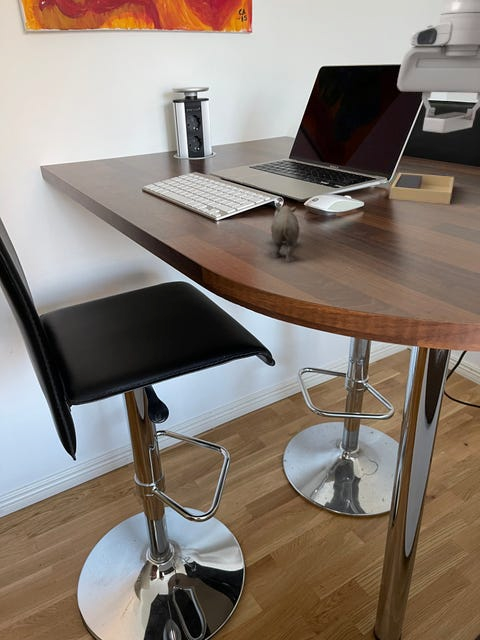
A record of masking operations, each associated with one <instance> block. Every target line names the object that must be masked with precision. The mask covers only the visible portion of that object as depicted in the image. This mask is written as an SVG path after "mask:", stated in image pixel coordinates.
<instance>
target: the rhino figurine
mask: <svg viewBox="0 0 480 640" xmlns="http://www.w3.org/2000/svg"><path fill="white" fill-rule="evenodd" d="M275 209H276V211H277V213H276V214H275V215H274V218H273V219H272V223H271V227H270V233H271V239H272V244H273V246H274V247H273V248H274V249H273V252H272V253H271V254H270V256H271V257H272V258H275V259H278V258H280V257H281V253H280V251H281V249H282V245H283V243H285V245H286V257H285V258H284V259H285V262H286V263H294V262H295V261H296V259H295V257H293V255H294V249H295V247H297V242H298V239H299V235H300V225H299V220H298V217H297V215H295V212H296V211H297V207H296V206H293V207H290V206H288V205H284V206H283V207H281V205H279V204H276V208H275Z"/></svg>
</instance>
